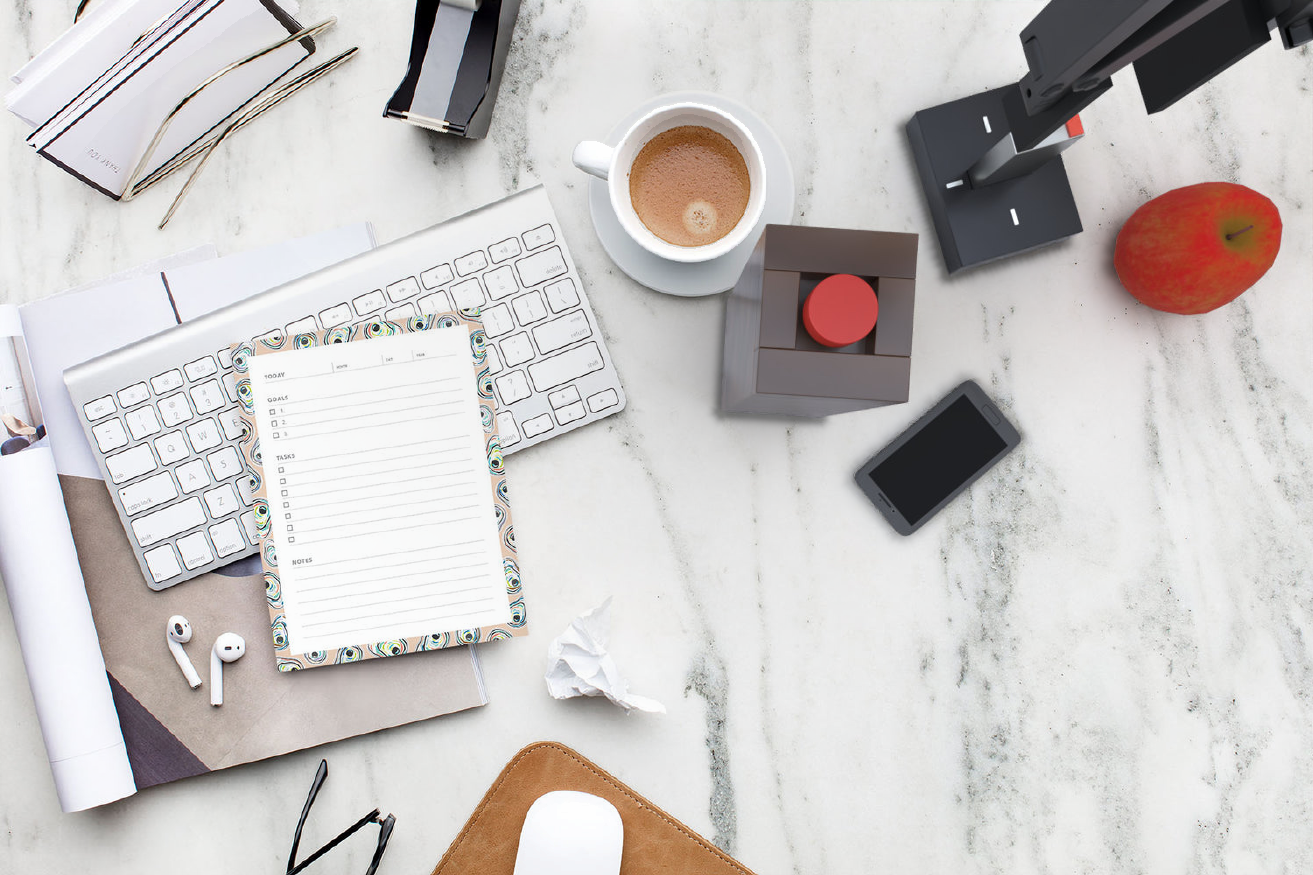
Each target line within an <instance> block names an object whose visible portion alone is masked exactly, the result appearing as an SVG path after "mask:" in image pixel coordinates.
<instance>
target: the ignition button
mask: <svg viewBox="0 0 1313 875" xmlns="http://www.w3.org/2000/svg"><path fill="white" fill-rule="evenodd" d="M877 317H878V301H877V297H876V295H875V293H874V291H873V289H872V288H871V287H870V286H869V285H868V284H867V283H866V282H865V281H864V280H862V279H861V278H859V277H857V276H854V275H850V274H837V275H833V276H830V277H828V278H826V279H824V280H823V281H822V282H820V283H819V284H818V285H817V286H816V287H815V288H814V289H813V290H812V291H811V292H810V294H809V295H808V297H807V298H806V301H805V303H804V307H803V321H804V324H805V327H806V329H807V331H808V333H809V334H810V335H811V336H812V337H813V338H814V339H815V340H816V341H817V342H819V343H821V344H823V345H825V346H828V347H834V348H839V347H845V346H848V345H851V344H853V343H855V342H857V341H859V340H860V339H862V338H864V337H865V336H866V335H867V334H868V333H869V332H870V331H871V330H872V329H873V327H874V325H875V323H876V321H877Z"/></svg>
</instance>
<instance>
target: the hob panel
mask: <svg viewBox="0 0 1313 875" xmlns="http://www.w3.org/2000/svg"><path fill="white" fill-rule="evenodd" d="M1018 82H1019V81H1016V82H1012V83H1010V84H1009V83H1008V84H1006V85H1003V86H999V87H995V88H993V89H989V90H985V91H982V92H979V93H976V94H971V95H969V96H965V97H961V98H958V99H954V100H951V101H948V102H944V103H941V104H937V105H934V106H930V107H928V108H924V109H921V110H917V111H915V113H914V114H913V115H912V116H911V118H910V119H909V120H908V121H907V123H906V124H905V130H906V134H907V138H908V140H909V144H910V147H911V150H912V154H913V157H914V161H915V164H916V168H917V171H918V175H919V178H920V181H921V184H922V187H923V191H924V194H925V197H926V201H927V204H928V208H929V210H930V214H931V218H932V221H933V224H934V227H935V231H936V235H937V238H938V241H939V244H940V248H941V251H942V254H943V259H944V262H945V265H946V268H947V272H948V274H949V275H952V274H955V273H958V272H959V273H960V272H962V271H966V270H970V269H972V268H976V267H979V266H983V265H986V264H990V263H992V262H993V263H994V262H996V261H999V260H1003V259H1004V260H1005V259H1006V258H1010V257H1014V256H1017V255H1020V254H1024V253H1027V252H1030V251H1034V250H1037V249H1041V248H1044V247H1048V246H1051V245H1055V244H1058V243H1062V242H1066V241H1067V240H1069V239H1072V238H1074V237H1076V236H1077V235H1079V234H1081V233H1083V232H1084V227H1083V224H1082V220H1081V216H1080V213H1079V210H1078V207H1077V204H1076V200H1075V196H1074V193H1073V191H1072V186H1071V184H1070V180H1069V176H1068V173H1067V170H1066V166H1065V164H1064V160H1063V157H1062V152H1061V153H1060V154H1058V155H1057V156H1056V157H1054V158H1053V159H1051V160H1050V161H1049V162H1047V163H1046V164H1044V165H1043V166H1042V167H1040V168H1039V169H1037V170H1036V171H1035V172H1033V173H1029V174H1026V175H1022V176H1019V177H1015V178H1012V179H1008V180H1004V181H1001V182H997V183H994V184H990V185H987V186H983V187H979V188H976V189H973V188H972V184H971V181H970V177H969V174H968V169H969V168H970V167H971V166H972V165H973V164H974V163H976V162H977V161H978V160H979V159H980V158H981V157H982V156H984V155H985V154H986V153H987V152H988V151H989V150H990V149H992V148H993V147H994V146H995V145H996V144H997V143H998V142H1000V141H1001V140H1002V139H1003V138H1004V137H1005V136H1006V135H1008V134H1009V133H1010V132H1011V131H1010V128H1009V124H1008V121H1007V117H1006V114H1005V111H1004V107H1003V104H1002V101H1001V99H1002V98H1003V97H1004V96H1005V95H1006V94H1007V93H1008V92H1009V91H1010V90H1011V89H1012V88H1013V87H1014V86H1015V85H1016V84H1017V83H1018Z"/></svg>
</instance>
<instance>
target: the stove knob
mask: <svg viewBox="0 0 1313 875" xmlns="http://www.w3.org/2000/svg"><path fill="white" fill-rule="evenodd" d="M1085 134H1086V133H1085V130H1084V127H1083V123H1082V119H1081V117H1080V113H1078V114H1077V115H1075V116H1074V117H1073V118H1071V119H1070V120H1069V121H1068V122H1066V123H1065V124H1064V125H1062V126H1061V127H1060V128H1059V129H1057V130H1056V131H1055V132H1054V133H1052V134H1051V135H1050V136H1048V137H1047V138H1046V139H1045V140H1043V141H1042V142H1041V143H1039V144H1038V145H1037V146H1036V147H1034V148H1033V149H1031V150H1027V151H1024V152H1021V153H1017V151H1016V148H1015V144H1014V141H1013V138H1012V134H1011V132H1010V133H1009V134H1008V135H1006V136H1005V137H1004V138H1003V139H1002V140H1001V141H1000V142H998V143H997V144H996V145H995V146H994V147H993V148H992V149H990V150H989V151H988V152H987V153H986V154H985V155H984V156H982V157H981V158H980V159H979V160H978V161H977V162H976V163H974V164H973V165H972V166H971V167H970V168H969V169H968V174H969V177H970V181H971V184H972V188H973V189H976V188H979V187H983V186H987V185H990V184H994V183H997V182H1001V181H1004V180H1008V179H1012V178H1015V177H1019V176H1022V175H1026V174H1029V173H1033V172H1035V171H1036V170H1037V169H1039V168H1040V167H1042V166H1043V165H1044V164H1046V163H1047V162H1049V161H1050V160H1051V159H1053V158H1054V157H1056V156H1057V155H1058V154H1060V153H1061V154H1062V153H1063V152H1064V151H1065V150H1067V149H1068V148H1069V147H1071V146H1073V145H1074V144H1075V143H1076V142H1078V141H1080V140H1081V139H1082V138H1083V137H1085V136H1086V135H1085Z"/></svg>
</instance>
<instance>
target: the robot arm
mask: <svg viewBox="0 0 1313 875" xmlns="http://www.w3.org/2000/svg"><path fill="white" fill-rule="evenodd" d="M1275 29H1277V30H1278V34H1279V35H1280V39H1281V43H1282V46H1283V48H1284V49H1283V50H1285V51H1289V50H1293V49H1296V48H1299V47H1301V46H1304V45H1306V44H1309V43H1310V42H1312V41H1313V0H1050V1H1049V2H1048V3H1047V4H1046V5H1045V6H1044V8H1042V10H1040V11H1039V13H1038V14H1036V15H1035V17H1034V18H1032V20H1031V21H1030V22H1028V24H1027V25H1026V26H1025V27H1024V28H1023V29H1022V30H1021V31H1020V32H1019V34H1018V36H1019V40H1020V42H1021V43H1020V44H1021V46H1022V51H1023V54H1024V58H1025V60H1026V61H1025V62H1026V65H1027V67H1028V70H1029V71H1028V72H1027V73H1025V75H1024V76H1023V77H1021V78H1020V80H1018V81H1017V82H1018V83H1017V84H1016V85H1015V86H1014V87H1013V88H1012V89H1011V90H1010V91H1009V92H1008V93H1007V94H1006V95H1005V96H1004V97H1003V98H1002V99H1001V101H1002V104H1003V107H1004V111H1005V114H1006V117H1007V121H1008V124H1009V128H1010V131H1011V134H1012V138H1013V141H1014V144H1015V148H1016V151H1017V153H1021V152H1024V151H1027V150H1031V149H1033V148H1034V147H1036V146H1037V145H1038V144H1039V143H1041V142H1042V141H1043V140H1045V139H1046V138H1047V137H1048V136H1050V135H1051V134H1052V133H1054V132H1055V131H1056V130H1057V129H1059V128H1060V127H1061V126H1062V125H1064V124H1065V123H1066V122H1068V121H1069V120H1070V119H1071V118H1073V117H1074V116H1075V115H1077V114H1080V113H1081V112H1082V111H1083V110H1085V109H1086V108H1087V107H1088V106H1090V105H1091V104H1092V103H1094V101H1096V100H1097V99H1099V98H1101V96H1103V95H1104V94H1105V93H1106V92H1108V91H1109V90H1110V89H1112V88H1113V87H1114V83H1113V80H1112V76H1113V75H1114V74H1116V73H1117V72H1119V71H1121V70H1123V69H1124V68H1125V67H1127V66H1129V65H1130V64H1132V67H1133V71H1134V74H1135V77H1136V80H1137V83H1138V87H1139V90H1140V91H1139V92H1140V94H1141V97H1142V101H1143V104H1144V108H1145V110H1146V114H1147V116H1150V115H1154V114H1157V113H1160V112H1164V111H1165V110H1166V109H1168V108H1169V107H1171V106H1173V105H1175V104H1176V103H1177V102H1179V101H1180V100H1182V99H1183V98H1185V97H1186V96H1188V95H1189V94H1191V93H1192V92H1195V91H1196V90H1197V89H1199V88H1200V87H1201V86H1203V85H1205V84H1206V83H1208V82H1209V81H1211V80H1212V79H1214V78H1215V77H1217V76H1219V75H1220V74H1221V73H1224V71H1226V70H1228V69H1229V68H1231V67H1233V66H1234V65H1235V64H1237V63H1238V62H1240V61H1241V60H1243V59H1245V58H1246V57H1248V56H1249V55H1250V54H1252V53H1253V52H1255V51H1256V50H1258V49H1260V48H1261V47H1263V46H1264V45H1266V44H1268V43H1270V42H1271V41H1272V36H1271V32H1272V31H1274V30H1275Z"/></svg>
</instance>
